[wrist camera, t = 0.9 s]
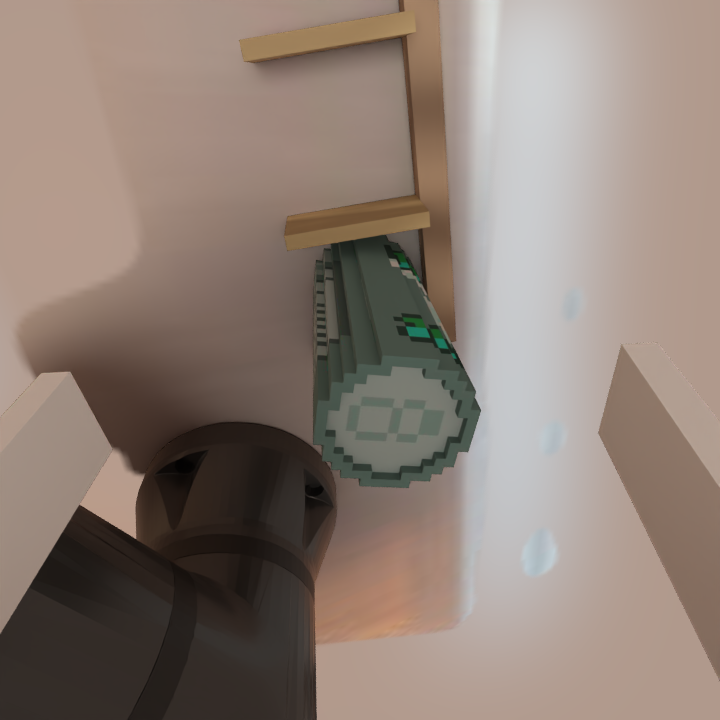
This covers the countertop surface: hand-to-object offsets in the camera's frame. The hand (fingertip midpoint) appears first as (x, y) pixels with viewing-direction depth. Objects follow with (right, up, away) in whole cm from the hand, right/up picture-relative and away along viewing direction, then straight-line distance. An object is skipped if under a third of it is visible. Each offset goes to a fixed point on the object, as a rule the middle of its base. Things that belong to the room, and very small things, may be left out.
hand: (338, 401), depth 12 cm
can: (+1, +6, +19) cm, 20 cm away
